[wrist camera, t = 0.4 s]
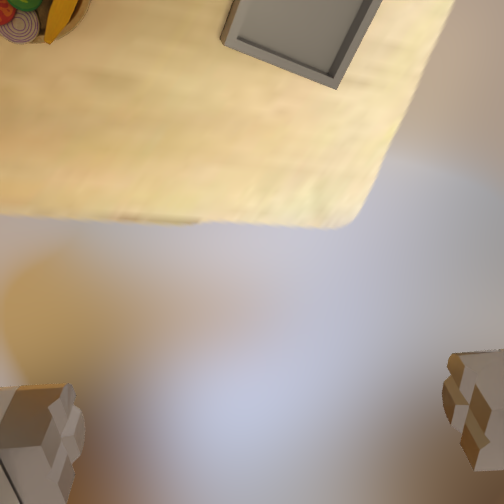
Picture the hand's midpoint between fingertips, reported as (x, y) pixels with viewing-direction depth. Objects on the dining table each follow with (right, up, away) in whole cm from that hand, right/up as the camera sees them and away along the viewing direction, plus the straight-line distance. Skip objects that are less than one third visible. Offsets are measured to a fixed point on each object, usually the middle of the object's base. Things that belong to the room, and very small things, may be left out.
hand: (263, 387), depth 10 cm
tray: (+6, +30, +39) cm, 50 cm away
